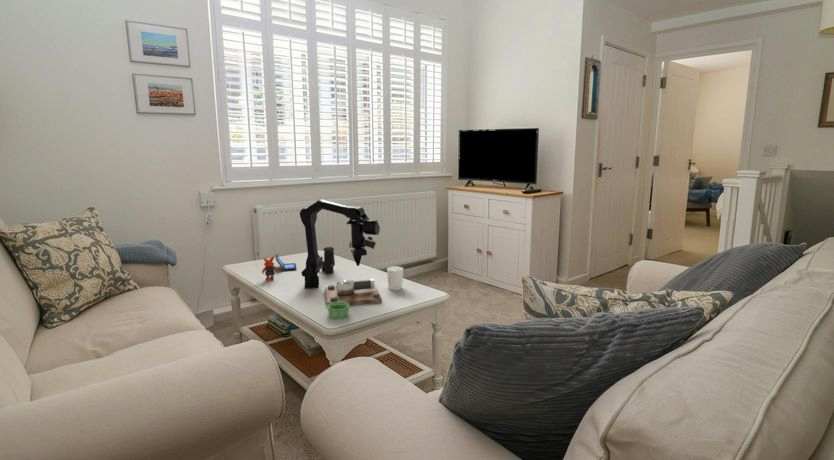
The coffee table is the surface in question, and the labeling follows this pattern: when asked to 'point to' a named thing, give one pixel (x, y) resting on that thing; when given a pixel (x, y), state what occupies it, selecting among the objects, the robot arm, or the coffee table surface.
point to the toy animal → (269, 268)
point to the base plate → (353, 296)
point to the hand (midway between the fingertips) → (358, 265)
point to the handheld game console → (286, 265)
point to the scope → (328, 260)
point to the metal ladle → (353, 286)
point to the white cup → (395, 277)
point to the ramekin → (338, 310)
